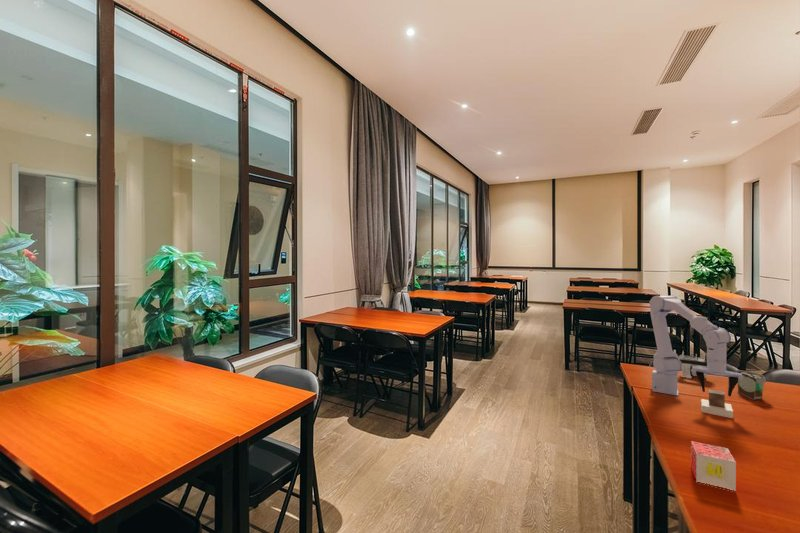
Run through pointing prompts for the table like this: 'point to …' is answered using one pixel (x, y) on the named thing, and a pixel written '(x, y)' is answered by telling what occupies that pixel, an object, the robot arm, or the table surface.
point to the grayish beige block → (716, 398)
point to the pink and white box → (713, 465)
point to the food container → (751, 384)
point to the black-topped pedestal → (692, 364)
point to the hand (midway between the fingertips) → (716, 393)
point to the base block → (716, 409)
